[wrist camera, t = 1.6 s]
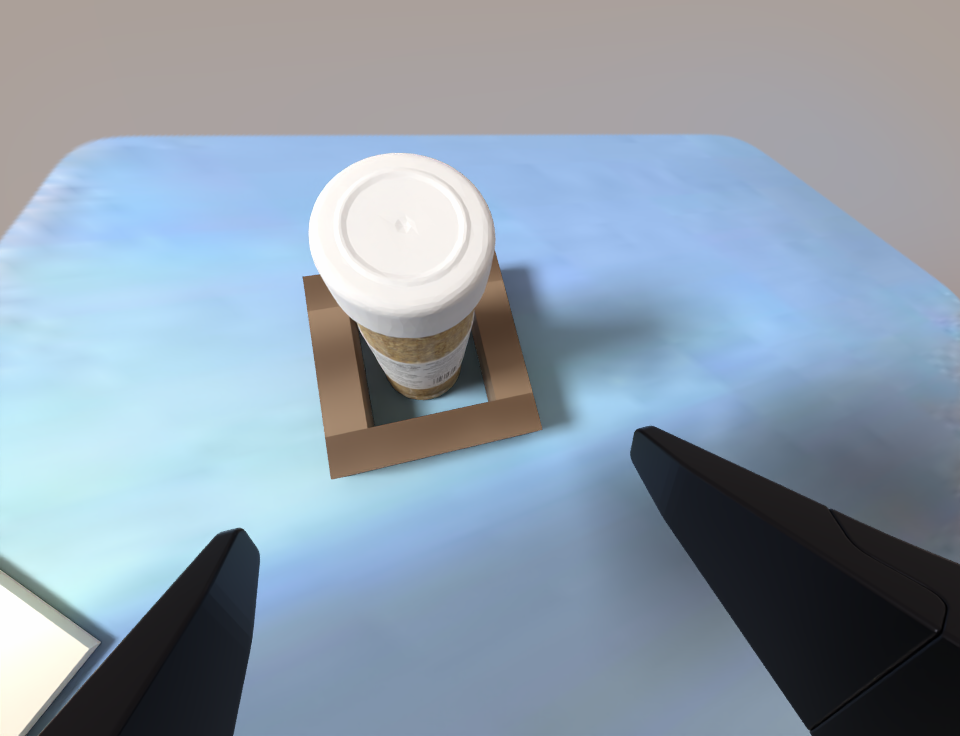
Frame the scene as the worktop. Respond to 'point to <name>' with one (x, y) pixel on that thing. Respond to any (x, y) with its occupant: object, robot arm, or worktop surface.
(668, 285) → the worktop surface
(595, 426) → the worktop surface
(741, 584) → the robot arm
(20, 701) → the pad
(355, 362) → the socket block
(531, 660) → the worktop surface
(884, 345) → the worktop surface
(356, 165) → the sprinkles bottle
